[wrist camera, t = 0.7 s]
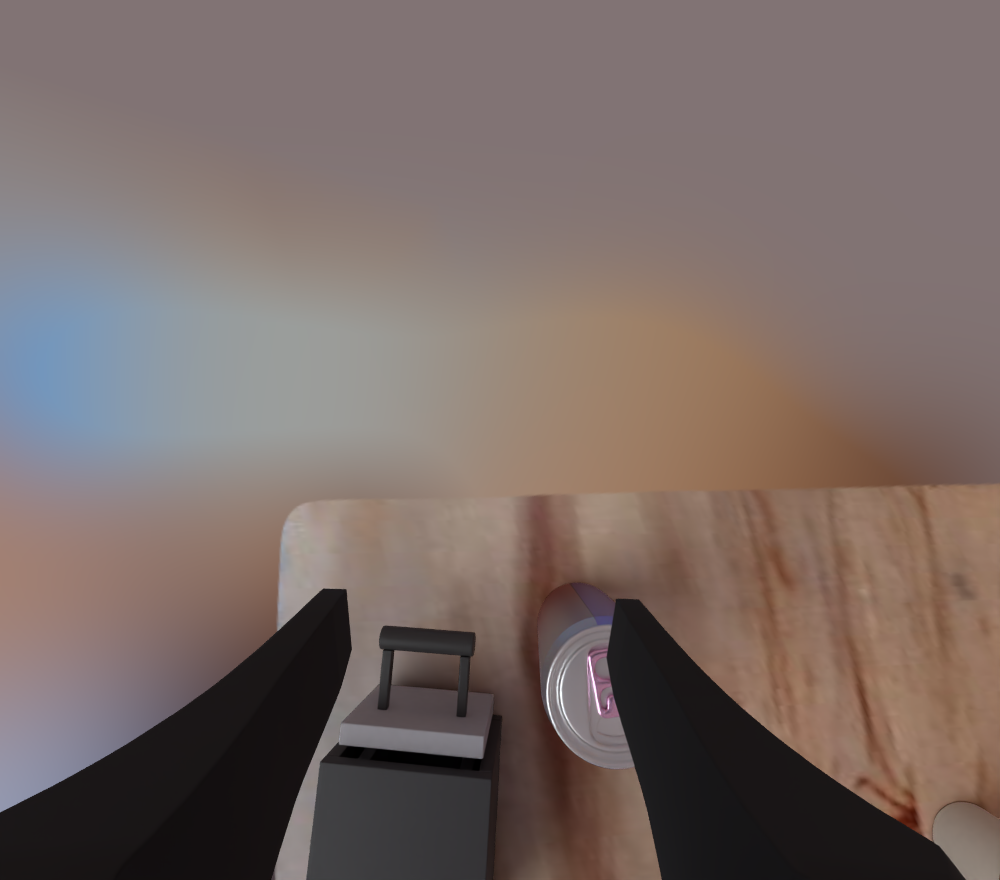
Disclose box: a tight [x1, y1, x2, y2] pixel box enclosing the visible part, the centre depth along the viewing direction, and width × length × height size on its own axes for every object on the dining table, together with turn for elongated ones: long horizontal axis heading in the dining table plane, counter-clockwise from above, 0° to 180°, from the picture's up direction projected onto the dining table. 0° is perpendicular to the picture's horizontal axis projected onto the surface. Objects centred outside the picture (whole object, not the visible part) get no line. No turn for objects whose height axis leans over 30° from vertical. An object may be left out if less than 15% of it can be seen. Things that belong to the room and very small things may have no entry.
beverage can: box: [537, 583, 635, 769], centre depth 27 cm, size 6×6×15 cm
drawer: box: [339, 626, 494, 771], centre depth 29 cm, size 15×8×7 cm, turn 177°
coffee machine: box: [306, 715, 502, 880], centre depth 28 cm, size 12×10×9 cm
